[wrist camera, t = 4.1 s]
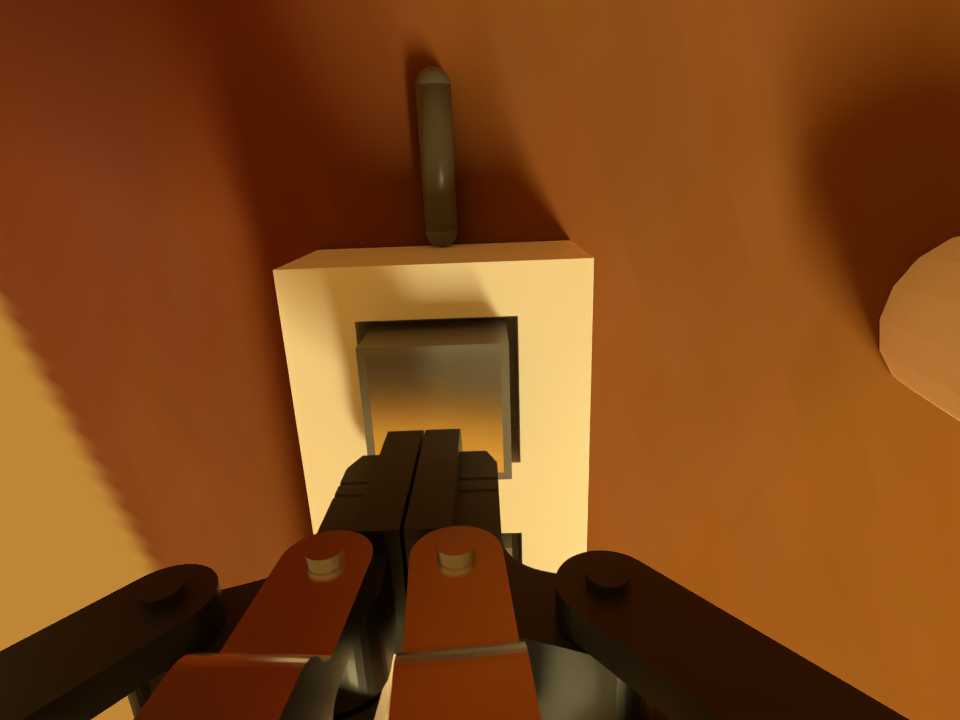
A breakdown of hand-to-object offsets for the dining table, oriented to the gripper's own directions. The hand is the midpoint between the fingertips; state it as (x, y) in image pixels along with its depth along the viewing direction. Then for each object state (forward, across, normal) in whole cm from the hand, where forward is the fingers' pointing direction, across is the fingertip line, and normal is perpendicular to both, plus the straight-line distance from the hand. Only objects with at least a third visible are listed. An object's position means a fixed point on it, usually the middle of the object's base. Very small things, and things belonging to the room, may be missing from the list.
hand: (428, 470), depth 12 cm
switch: (+5, 0, 0) cm, 5 cm away
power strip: (+8, 0, +4) cm, 8 cm away
